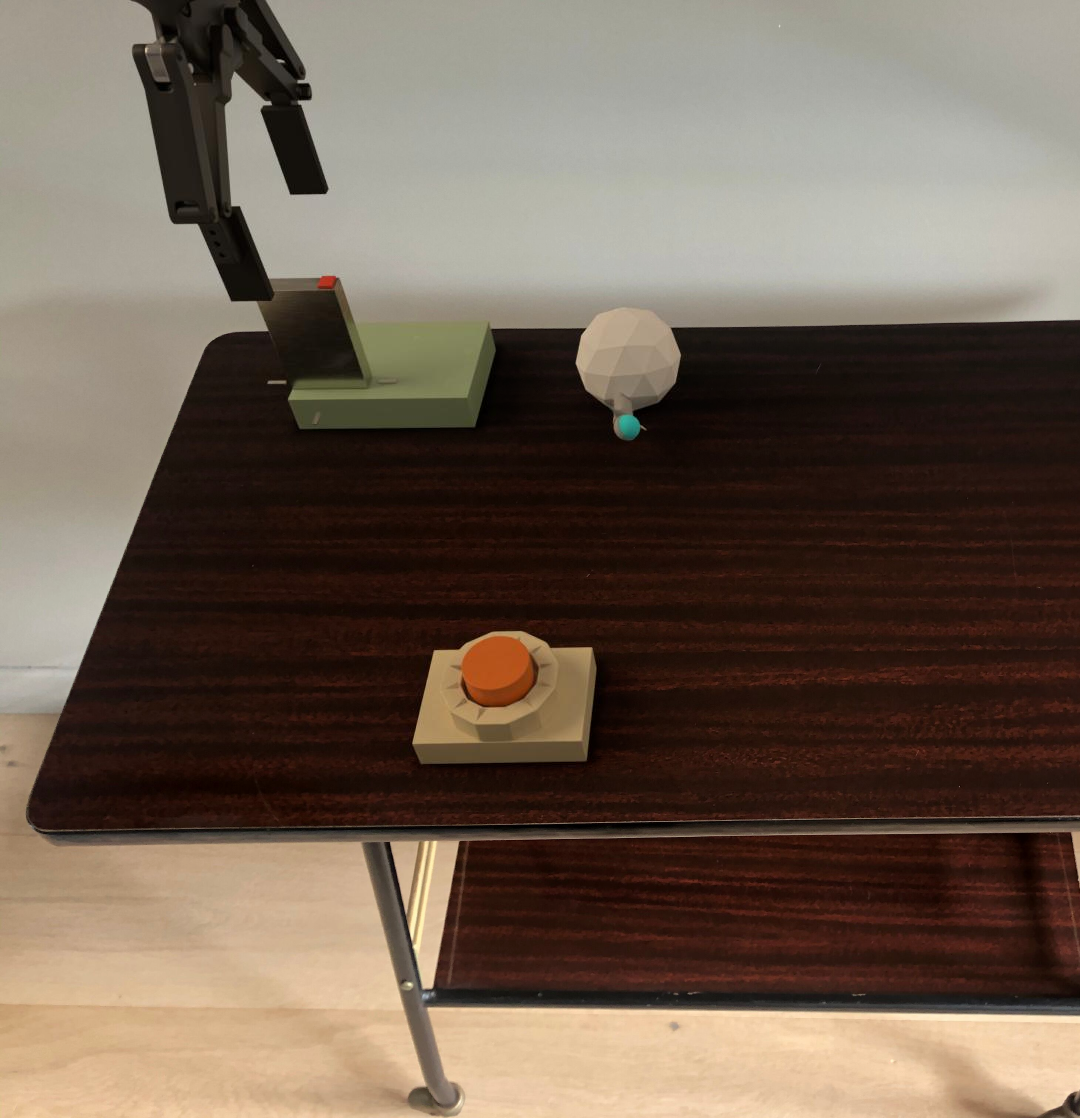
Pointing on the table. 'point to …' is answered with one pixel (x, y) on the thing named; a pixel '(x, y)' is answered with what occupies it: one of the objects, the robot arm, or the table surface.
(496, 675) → the button
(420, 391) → the clamp block
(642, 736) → the table surface
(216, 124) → the robot arm
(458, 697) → the box
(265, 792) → the table surface
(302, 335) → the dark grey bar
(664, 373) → the perfume bottle
